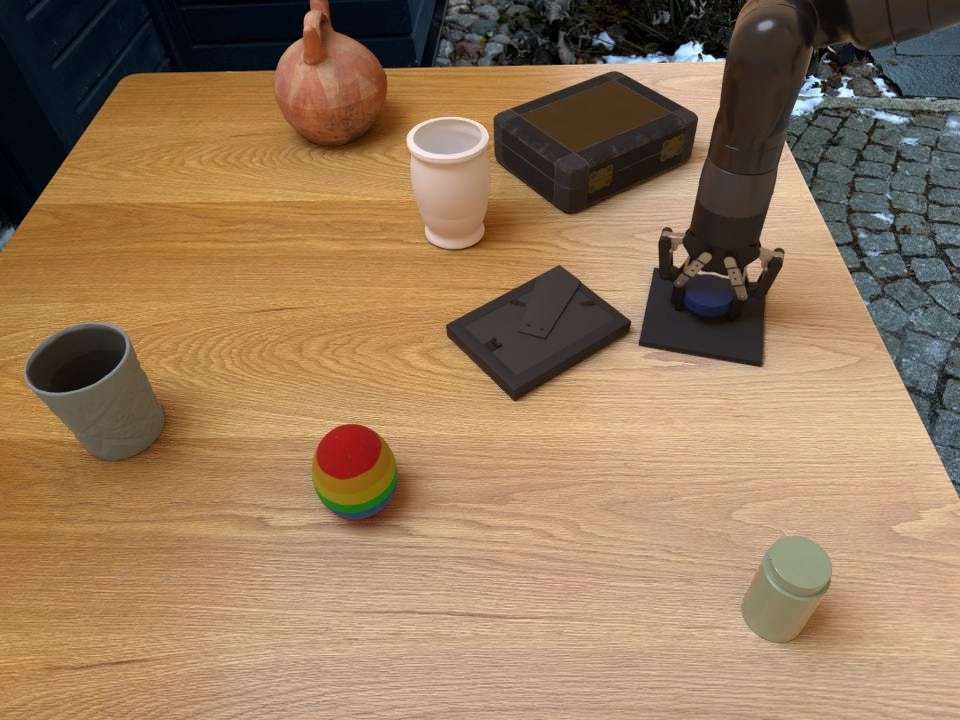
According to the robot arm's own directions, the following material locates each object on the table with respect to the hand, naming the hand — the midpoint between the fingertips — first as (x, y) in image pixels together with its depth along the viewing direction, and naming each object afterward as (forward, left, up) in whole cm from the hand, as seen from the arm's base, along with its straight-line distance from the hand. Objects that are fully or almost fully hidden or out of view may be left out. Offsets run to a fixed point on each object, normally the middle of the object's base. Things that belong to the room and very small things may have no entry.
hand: (705, 310), depth 91 cm
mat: (0, 0, -1) cm, 1 cm away
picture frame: (+19, +8, -1) cm, 21 cm away
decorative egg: (+31, +35, -1) cm, 47 cm away
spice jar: (-9, +37, -1) cm, 38 cm away
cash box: (+20, -32, -1) cm, 38 cm away
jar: (+35, -9, -1) cm, 36 cm away
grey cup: (+60, +34, -1) cm, 69 cm away
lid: (0, 0, +3) cm, 3 cm away
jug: (+63, -32, -1) cm, 71 cm away
